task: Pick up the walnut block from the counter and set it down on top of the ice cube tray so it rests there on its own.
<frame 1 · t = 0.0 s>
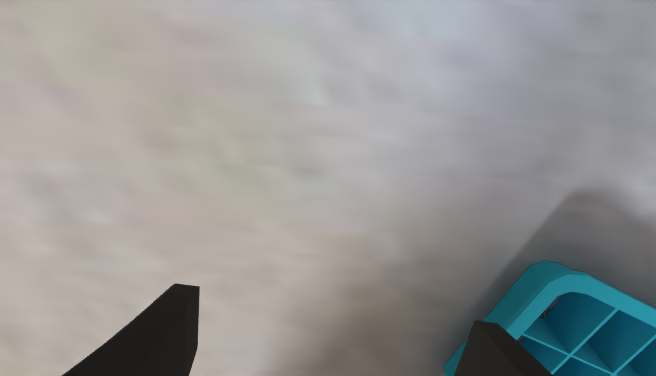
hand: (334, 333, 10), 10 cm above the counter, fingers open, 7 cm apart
ice cube tray: (597, 364, 25), on the counter
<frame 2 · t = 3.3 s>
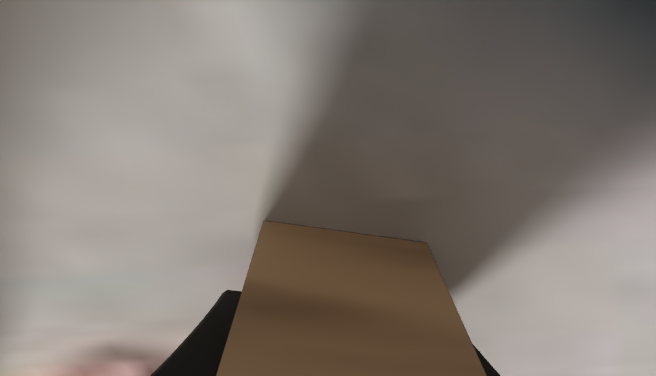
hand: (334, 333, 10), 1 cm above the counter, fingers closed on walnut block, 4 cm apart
walnut block: (332, 298, 12), on the counter, touching gripper
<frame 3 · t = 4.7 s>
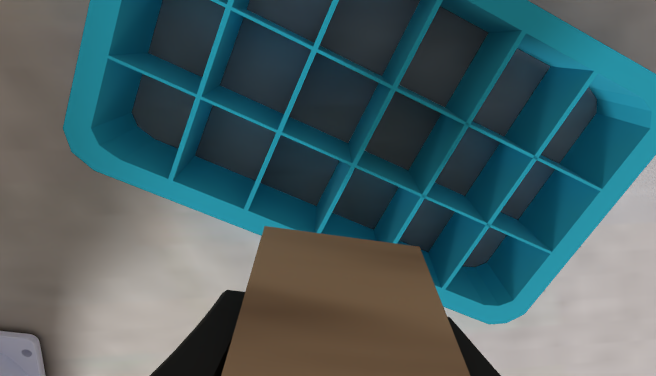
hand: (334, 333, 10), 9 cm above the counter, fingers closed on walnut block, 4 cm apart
walnut block: (330, 298, 12), point 7 cm above the counter, touching gripper
ice cube tray: (364, 110, 17), on the counter
when the fingers open (6 cm above the counter, at t = 6.3 s): walnut block drops 1 cm, resting on ice cube tray.
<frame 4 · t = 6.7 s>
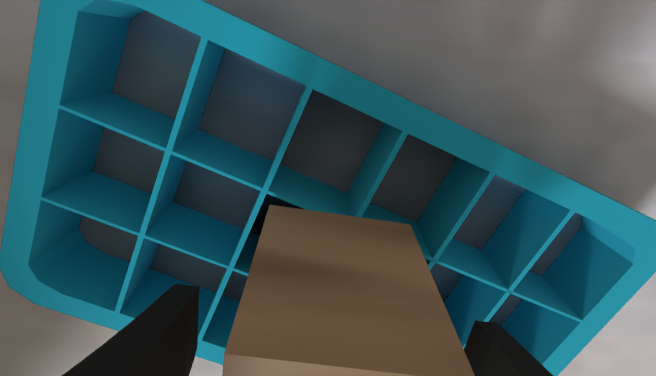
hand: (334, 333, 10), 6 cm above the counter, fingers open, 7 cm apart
walnut block: (329, 273, 13), point 2 cm above the counter, touching ice cube tray
ice cube tray: (330, 219, 16), on the counter, touching walnut block
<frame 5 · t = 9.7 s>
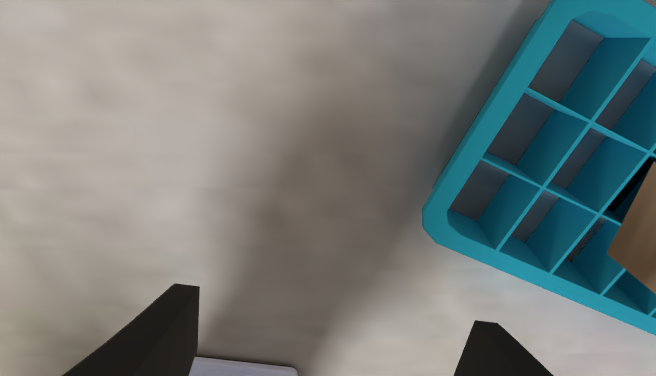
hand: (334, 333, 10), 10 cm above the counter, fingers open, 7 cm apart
ice cube tray: (626, 183, 20), on the counter, touching walnut block
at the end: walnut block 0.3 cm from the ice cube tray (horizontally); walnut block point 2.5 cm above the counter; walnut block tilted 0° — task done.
